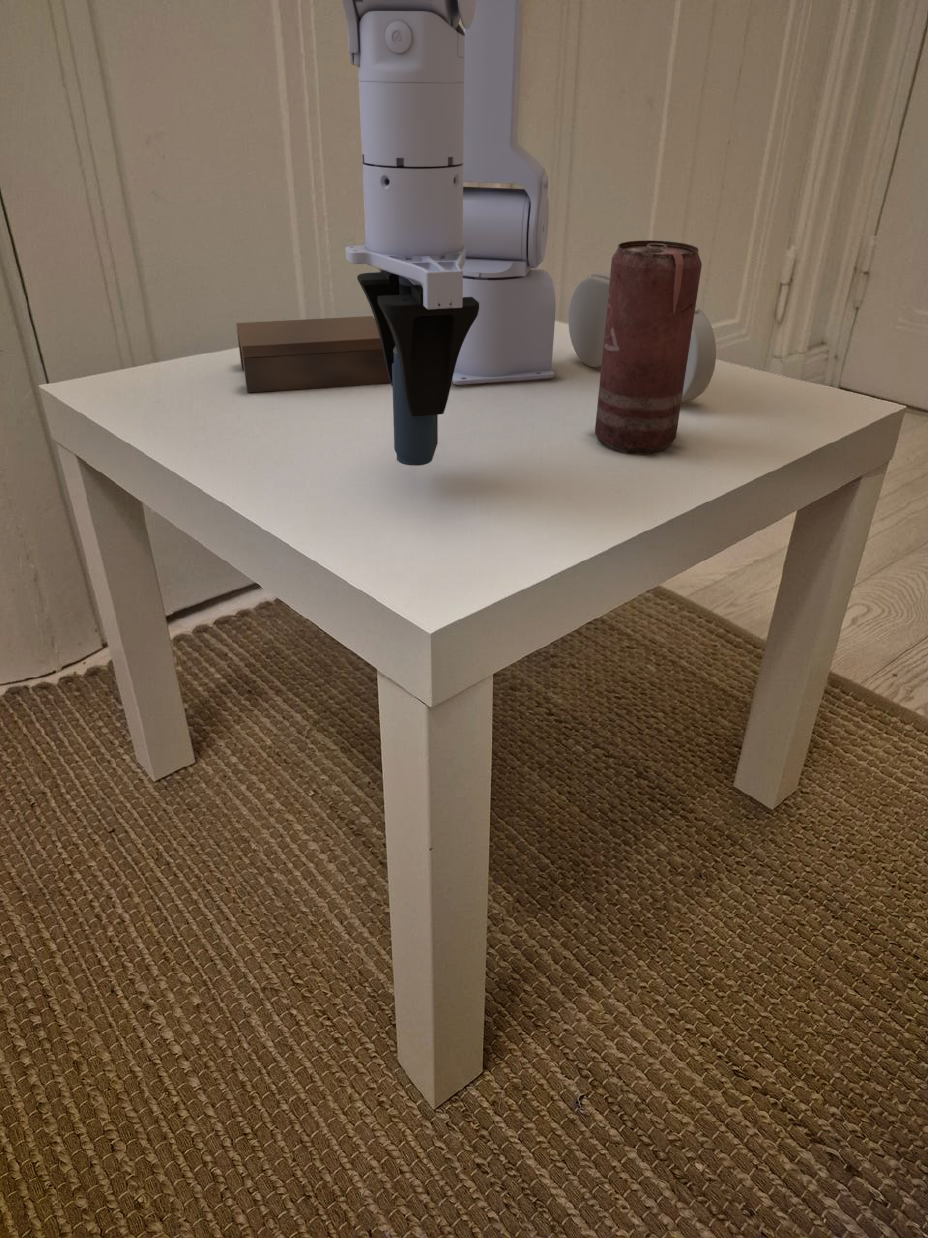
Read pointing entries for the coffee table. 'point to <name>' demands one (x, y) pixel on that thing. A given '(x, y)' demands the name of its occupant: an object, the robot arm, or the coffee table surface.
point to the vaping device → (410, 416)
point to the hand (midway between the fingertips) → (416, 399)
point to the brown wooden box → (311, 353)
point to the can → (646, 344)
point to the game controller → (590, 330)
